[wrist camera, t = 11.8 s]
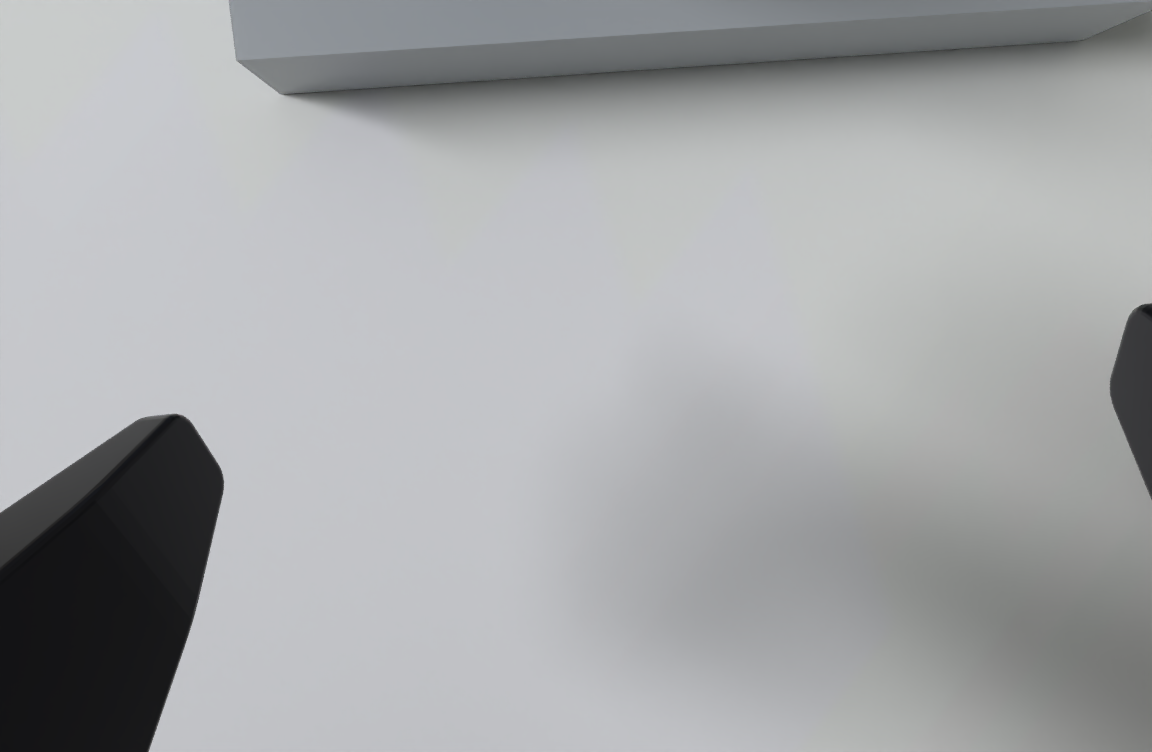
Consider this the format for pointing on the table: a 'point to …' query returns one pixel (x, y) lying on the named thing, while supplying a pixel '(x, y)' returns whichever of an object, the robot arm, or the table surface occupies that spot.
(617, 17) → the panel
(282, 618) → the table surface
